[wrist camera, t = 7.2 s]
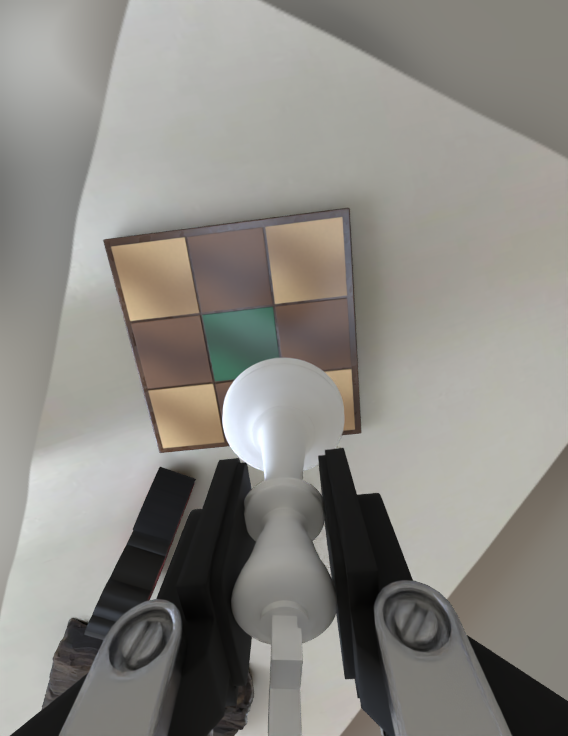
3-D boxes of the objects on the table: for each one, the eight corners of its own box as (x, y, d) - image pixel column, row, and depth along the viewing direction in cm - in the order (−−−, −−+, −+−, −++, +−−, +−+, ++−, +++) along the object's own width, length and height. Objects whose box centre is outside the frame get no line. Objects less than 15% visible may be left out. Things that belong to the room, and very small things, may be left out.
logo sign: (168, 453, 33) (111, 544, 23) (201, 464, 34) (161, 560, 23) (124, 580, 39) (62, 703, 28) (154, 589, 39) (103, 714, 28)
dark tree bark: (70, 614, 41) (56, 689, 45) (48, 649, 37) (35, 726, 42) (267, 665, 43) (234, 733, 47) (264, 703, 39) (229, 773, 44)
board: (110, 240, 27) (101, 239, 26) (347, 209, 26) (350, 207, 25) (163, 446, 33) (158, 454, 32) (358, 427, 32) (362, 434, 31)
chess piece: (349, 360, 13) (521, 631, 4) (337, 468, 15) (435, 854, 5) (222, 354, 13) (63, 618, 4) (223, 464, 15) (115, 848, 5)
